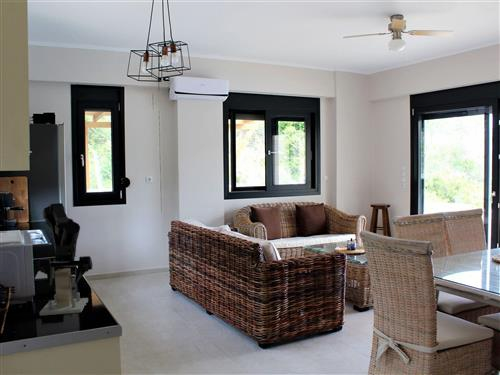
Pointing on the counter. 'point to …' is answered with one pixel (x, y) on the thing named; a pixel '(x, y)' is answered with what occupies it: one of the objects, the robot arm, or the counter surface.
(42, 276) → the phone case
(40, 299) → the counter surface
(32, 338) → the counter surface
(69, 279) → the maple block
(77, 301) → the base plate
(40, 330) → the counter surface
